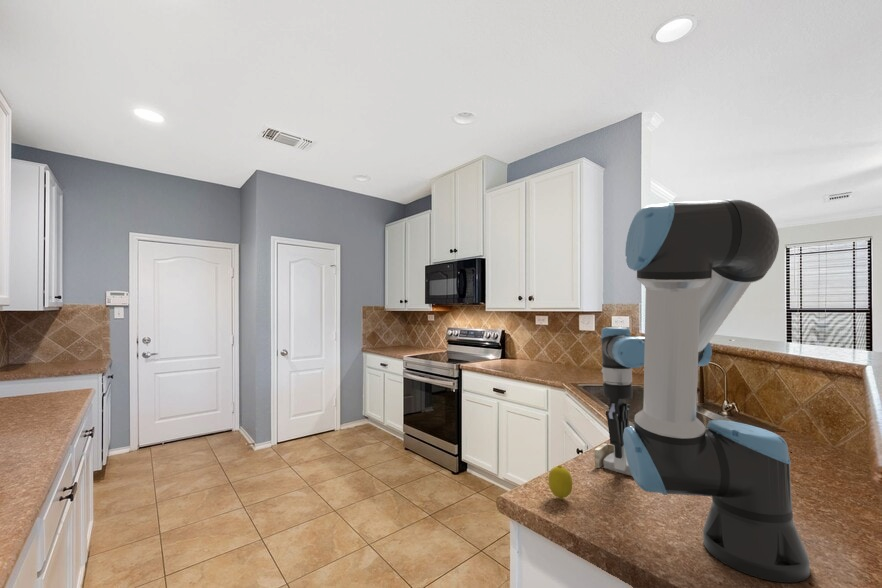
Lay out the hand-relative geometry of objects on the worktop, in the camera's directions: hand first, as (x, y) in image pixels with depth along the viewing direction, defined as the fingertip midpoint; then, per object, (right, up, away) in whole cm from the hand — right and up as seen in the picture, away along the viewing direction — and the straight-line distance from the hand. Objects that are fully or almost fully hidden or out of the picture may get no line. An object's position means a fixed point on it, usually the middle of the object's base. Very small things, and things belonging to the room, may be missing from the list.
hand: (620, 468), depth 107 cm
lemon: (-21, -1, -14) cm, 25 cm away
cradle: (+3, -2, +2) cm, 4 cm away
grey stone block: (+2, -2, +3) cm, 4 cm away
